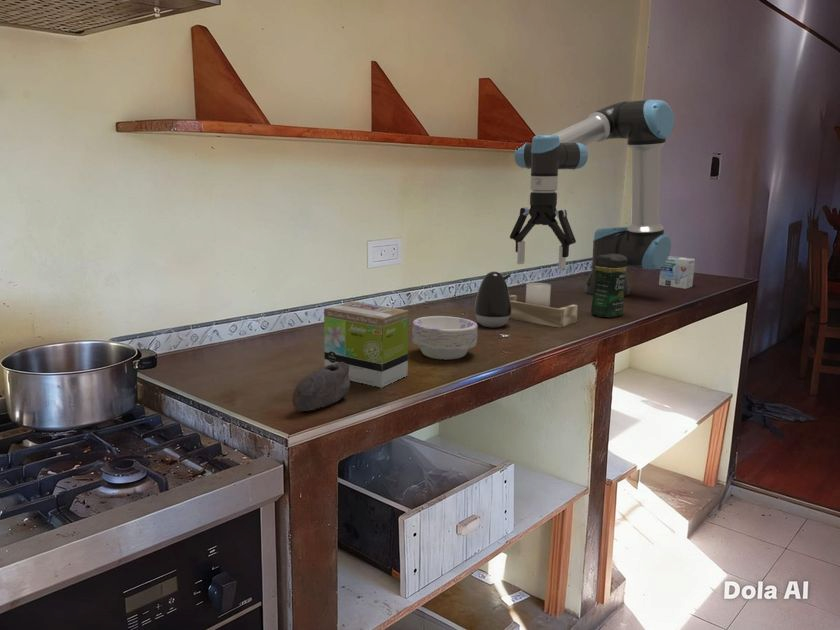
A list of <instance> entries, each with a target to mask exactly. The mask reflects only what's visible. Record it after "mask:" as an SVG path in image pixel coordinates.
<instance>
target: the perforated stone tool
mask: <svg viewBox="0 0 840 630" xmlns="http://www.w3.org/2000/svg"><path fill="white" fill-rule="evenodd" d="M350 387H351V381H350V379H349V365H348V364H347V363H344V362H338V363H335V364H332V365H328V366H326V367H325V366H323V367H320V368H319V369H317V370H316V371H314V372H312V373H311V374H309V375H308V376H306V377H305V378H304V379H302V380H301V381H299V383H298V384H297V385H296V387H295V388H294V391H293V394H292V404H293V405H292V406H293V407H294V409H295V410H296V411H299V412H301V411H306V410H311V409H316V408H318V409H321V408H320V407H322V406H326V405H329V404H331V405H333V404H332V403H334V404H336V403H337V402H339V401H340V400H342V399H344V398H346V397H347V396H348V393H349V390H350ZM341 398H342V399H341ZM335 402H336V403H335ZM329 406H330V405H329ZM326 407H327V406H326ZM316 410H317V409H316Z"/></svg>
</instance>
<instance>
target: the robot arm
mask: <svg viewBox="0 0 840 630" xmlns="http://www.w3.org/2000/svg"><path fill="white" fill-rule="evenodd" d="M673 112H674V111H673V110H672V108H671V106H670V105H669V104H668V102H666V101H665V100H661V99H651V98H650V99H643V100H631V101H629V100H628V101H620V102H616V103H613V104H610V105H607V106H606V107H603V108H601V109H598V110H596V111H593V112H591V113H590V114H588V116H587V117H586V119H584V120H582V121H579V122H577V123H575V124H573V125H570V126H568V127H566V128H564V129H562V130H559V131H557V132H554V133H553V134H545V135H544V134H541V135H539V134H537V135H534V136H533V137H532V140H531V141H532V142H524V143H525V144H524V145H523V146H522V147H520V148H518V150H516V149H515V150H514V153H513V154H514V162H515V164H516V165H517V166H518V167H519V168H522V169H527V170H530V189H529V190H531V192H530V193H529V205H530V208H529V207H520V209H519V216H518V218H517V220H516V222H515V225H514V226H513V228H512V231H511V233H510V236H509V238H510V240H514V241H515V253H517V263H516V264H517V265H524V264H525V261H526V259H525V258H526V257H525V255H526V253H525V252H526V241H524V239H525V237H526V236H528V234H529V233H530V232H531V230H532V229H533V228H534V227H535V225H538V226H539V225H542V226H548V227H549V228H550V229H551V230H552V232H553V234H554V235H555V236H556V238H557V239H558V241H559V243H560V245H559V246H558V247H559V248H558V251H559V252H558V268H557V269H558V270H564V269H566V268H567V267H566V266H567V263H566V262H567V261H566V260H567V258H569V255H570V254H569V252H570V245H572V244H576V242H577V241H576V238H575V235H574V233H573V229H572V227H571V225H570V222H569V220H568V213H567V210H566V209H561V210H557V205H558V193H557V192H556V191H557V190H558V187H559V186H558V185H559V184H558V182H559V179H558V178H559V170H573V171H574V170H577V169H581V168H583V167H585V165H586V164H587V162H588V158H589V152H588V148H587V147H586V146H587V145H588V146H589V144H591V143H595V142H598V143H601V142H603V141H606V140H611V139H612V140H613V139H624V140H625V139H627V141H626V142H627V143H626V144H627V147H629V148H630V150H631V152H632V154H631V155H632V156H631V158H632V160H631V164H632V165H631V166H632V167H631V168H632V170H631V171H632V172H631V177H632V178H631V185H632V186H631V224H630V225H629V226H623V227H604V228H598V229H596V230H595V232H594V235H593V240H592V243H593V245H592V257H591V258H592V259H591V260H592V261H591V272H590V273H589V275H588V278H587V281H586V284H585V287H584V292H585V293H587V294H590V295H593V293H594V285H595V275H596V274H595V262H596V258H597V257H598V256H599V255H606V254H620V255H625V256H626V258H627V267H632V268H638V269H639V268H640V269H643V270H658V269H661V267H662V266H663V265H664V264H665V262H666V260H667V259H668V257H669V256H670V254H671V250H672V241H671V238H670V236H669V235H667V234H664V233H665V230H664V229H665V227H664V226H663V225H662V224H661V223H660V198H661V197H660V190H661V185H660V184H661V149H662V147H663V146H664V145H665V144H666V140H667V138H668V137H669V136H671V135H672V133H673V130H674V127H675V117H674V113H673ZM528 216H530V218H529V219H528V221H527V223H526V220H527V217H528ZM556 217H557V218H558V220H559V222H558V221H557V219H556ZM525 223H526V224H525ZM559 224H560V225H561V227H560V225H559ZM524 225H525V226H524ZM628 295H630V284H629V280H628V276H627V273H626V274H625V280H624V297H625V296H626V297H627V296H628Z"/></svg>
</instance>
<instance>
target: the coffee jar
mask: <svg viewBox="0 0 840 630" xmlns="http://www.w3.org/2000/svg"><path fill="white" fill-rule="evenodd" d="M627 269H628V266H627V258H626V256H625V255H620V254H606V255H599V256H598V257H597V258H596V262H595V274H596V275H595V285H594V293H593V294H592V299H591V300H592V301H591V308H590V309H591V310H590V313H591V314H592V315H594V316H596V317H599V318H602V317H606V318H615V317H619V316H622V315H623V314H624V307H625V306H624V304H625V303H624V302H625V300H624V298H625V296H624V280H625V274H626V275H627V271H628V270H627Z"/></svg>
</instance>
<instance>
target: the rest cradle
mask: <svg viewBox="0 0 840 630" xmlns="http://www.w3.org/2000/svg"><path fill="white" fill-rule="evenodd" d="M510 300H511V315H510V317H509V319H510V320H517V321H522V322H526V323H527V322H528V323H534V324H537V325H544V326H549V327H554V328H559V329H560V328H564V327H566V326H570V325H572V324H575V323H577V319H578V304H570V305H566V306H563V307H552V306H550V307H547V306H541V305H535V304H529V303H526V302H521V301H518V295H514V294H511V295H510Z"/></svg>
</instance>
